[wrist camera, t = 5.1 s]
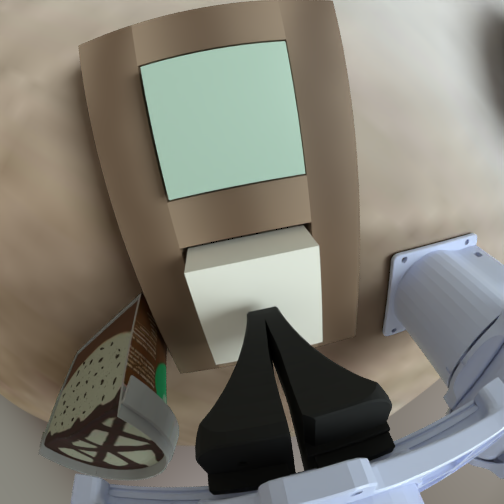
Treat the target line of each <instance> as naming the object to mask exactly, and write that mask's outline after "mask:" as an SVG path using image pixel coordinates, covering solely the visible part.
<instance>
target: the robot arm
mask: <svg viewBox="0 0 504 504" xmlns="http://www.w3.org/2000/svg"><path fill="white" fill-rule="evenodd" d="M476 242H477V235H476V234H474V233H471V234H467V235H464V236H460V237H457V238H453V239H449V240H446V241H442V242H438V243H435V244H431V245H427V246H423V247H419V248H416V249H412V250H408V251H404V252H400V253H397V254H395V255H394V256H393V257H392V259H391V268H390V279H389V288H388V297H387V305H386V312H385V319H384V325H383V334H384V335H385V336H390V335H393V334H396V333H398V332H401V331H404V330H407V332H408V333H409V334H410V336H411V337H412V338H413V340H414V341H415V342H416V344H417V345H418V346H419V348H420V349H421V350H422V352H423V353H424V355H425V356H426V357H427V359H428V360H429V362H430V363H431V364H432V366H433V367H434V369H435V370H436V371H437V373H438V374H439V376H440V377H441V379H442V380H443V381H444V383H445V384H446V386H447V387H448V388H449V389H448V391H447V393H446V394H445V395H444V397H443V398H444V400H445V401H446V403H447V404H448V406H449V409H448V411H447V413H446V416H445V417H443V418H441V419H439V420H437V421H436V422H434V423H432V424H430V425H428V426H426V427H424V428H422V429H420V430H418V431H416V432H414V433H411V434H409V435H407V436H405V437H403V438H401V439H398V440H396V441H393V440H392V438H391V436H390V433H389V430H390V427H389V425H388V424H387V419H388V416H389V414H390V411H391V409H392V403H391V401H390V399H389V397H388V395H387V394H386V393H385V391H384V390H383V389H382V387H381V386H380V385H379V384H378V383H377V382H374V381H371V380H369V379H366V378H363V377H361V376H359V375H356V374H354V373H352V372H350V371H348V370H347V369H345V368H343V367H341V366H340V365H338V364H336V363H334V362H333V361H331V360H330V359H328V358H327V357H325V356H324V355H323V354H321V353H320V352H319V351H317V350H316V349H315V348H314V347H312V346H311V345H310V344H309V343H308V342H307V341H306V340H305V339H304V338H303V337H301V336H300V335H299V333H298V332H297V331H296V330H295V329H294V328H293V327H292V326H291V325H290V324H289V322H288V321H287V320H286V319H285V318H284V316H283V315H282V313H281V312H280V310H279V309H278V308H277V307H276V306H274V307H270V308H265V309H260V310H255V311H251V312H248V313H247V325H246V331H245V336H244V341H243V345H242V348H241V352H240V355H239V358H238V361H237V364H236V366H235V369H234V371H233V373H232V375H231V378H230V380H229V381H228V383H227V385H226V387H225V389H224V391H223V393H222V394H221V396H220V397H219V399H218V400H217V402H216V403H215V405H214V406H213V408H212V409H211V411H210V412H209V413H208V414H207V416H206V417H205V418H204V419H203V420H202V422H201V423H200V424H199V428H198V432H197V437H196V445H195V450H196V461H197V463H198V464H199V465H200V466H201V467H202V468H203V469H204V470H205V471H206V472H207V473H208V484H209V486H201V487H141V486H140V487H139V486H126V485H116V484H109V483H108V482H107V481H105V480H104V479H102V478H99V477H96V476H90V475H83V474H75V478H74V484H73V491H72V498H71V504H424V502H423V499H422V497H421V495H420V492H421V491H423V490H425V489H427V488H429V487H430V486H432V485H434V484H436V483H437V482H439V481H441V480H442V479H444V478H446V477H447V476H449V475H450V474H452V473H453V472H455V471H456V470H458V469H459V468H461V467H462V466H464V465H465V464H467V463H469V464H471V465H473V466H477V467H482V468H486V469H488V470H490V471H492V472H493V473H495V474H496V475H497V476H498V477H499V478H501V479H504V265H503V264H502V263H500V262H499V261H498V260H496V259H495V258H493V257H492V256H491V255H489V254H488V253H487V252H485V251H484V250H482V249H481V248H479V247H478V246H477V245H476ZM403 258H404V259H403ZM402 259H403V260H402ZM272 360H273V361H272ZM273 363H274V366H275V369H276V371H277V374H278V377H279V380H280V382H281V385H282V388H283V391H284V393H285V396H286V399H287V402H288V406H289V410H290V414H291V418H292V422H293V426H294V430H295V434H296V438H297V442H298V446H299V450H300V454H301V458H302V463H303V467H304V471H303V472H298V473H296V472H295V465H294V457H293V450H292V443H291V437H290V432H289V428H288V424H287V420H286V417H285V413H284V410H283V406H282V403H281V399H280V395H279V392H278V388H277V384H276V381H275V377H274V369H273Z"/></svg>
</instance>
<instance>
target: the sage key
mask: <svg viewBox="0 0 504 504" xmlns="http://www.w3.org/2000/svg"><path fill="white" fill-rule="evenodd" d="M140 68H141V74H142V79H143V85H144V90H145V96H146V101H147V106H148V111H149V116H150V121H151V126H152V130H153V135H154V140H155V144H156V149H157V153H158V157H159V162H160V166H161V170H162V174H163V178H164V182H165V186H166V190H167V194H168V198H169V200H173V199H177V198H181V197H186V196H190V195H194V194H199V193H204V192H208V191H213V190H218V189H223V188H228V187H233V186H238V185H243V184H248V183H254V182H259V181H265V180H270V179H276V178H282V177H288V176H294V175H300V174H305V166H304V157H303V149H302V142H301V134H300V127H299V120H298V113H297V106H296V100H295V93H294V87H293V81H292V75H291V70H290V64H289V58H288V53H287V48H286V42H285V41H280V42H267V43H256V44H247V45H239V46H232V47H226V48H219V49H213V50H208V51H203V52H198V53H193V54H188V55H184V56H179V57H175V58H171V59H167V60H163V61H159V62H156V63H152V64H149V65H145V66H142V67H140Z"/></svg>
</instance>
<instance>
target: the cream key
mask: <svg viewBox="0 0 504 504" xmlns="http://www.w3.org/2000/svg"><path fill="white" fill-rule="evenodd" d="M184 274H185V277H186V280H187V284H188V287H189V290H190V293H191V296H192V299H193V302H194V305H195V308H196V311H197V314H198V317H199V319H200V322H201V325H202V328H203V331H204V334H205V336H206V339H207V342H208V345H209V347H210V350H211V353H212V355H213V358H214V361H215V363H216V365H218V364H224V363H229V362H235V361H238V358H239V355H240V352H241V348H242V345H243V341H244V336H245V331H246V325H247V313H248V312H251V311H255V310H260V309H265V308H270V307H274V306H276V307H277V308H278V309H279V310H280V312H281V313H282V315H283V316H284V318H285V319H286V320H287V321H288V322H289V324H290V325H291V326H292V327H293V328H294V329H295V330H296V331H297V332H298V333H299V335H300V336H301V337H303V338H304V339H305V340H306V341H307V342H308V343H309V344H310V345H313V344H317V343H320V342H323V334H322V293H321V270H320V252H319V245H318V243H317V242H316V241H315V240H314V238H313V237H312V236H311V234H310V233H309V232H308V230H307V229H306V228H305V227H304V225H301V226H296V227H291V228H286V229H281V230H276V231H271V232H266V233H261V234H256V235H251V236H246V237H241V238H236V239H231V240H226V241H221V242H216V243H211V244H207V245H202V246H197V247H192V248H188V251H187V258H186V264H185V271H184Z"/></svg>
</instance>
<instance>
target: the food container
mask: <svg viewBox="0 0 504 504" xmlns="http://www.w3.org/2000/svg"><path fill="white" fill-rule="evenodd" d="M166 347H167V345H166V343H165V341H164V339H163V337H162V335H161V332H160V330H159V328H158V326H157V324H156V321H155V319H154V317H153V315H152V312H151V310H150V308H149V305H148V303H147V300H146V298H145V296H144V295H143V294H142V293H141V294H140V295H138V296H137V297H136V298H135V299H134V300H133V301H132V302H131V303H130V304H128V305H127V306H126V307H125V308H124V309H123V310H122V311H121V312H120V313H118V314H117V315H116V316H115V317H114V318H113V319H112V320H111V321H110V322H109V323H107V324H106V325H105V326H104V327H103V328H102V329H101V330H100V331H99V332H98V333H97V334H96V335H95V336H93V337H92V338H91V339H90V340H89V341H88V342H87V343H86V344H85V345H84V346H83V347H82V348H81V349H80V350H79V351H77V353H76V355H75V357H74V360H73V362H72V364H71V367H70V369H69V371H68V373H67V376H66V378H65V381H64V383H63V386H62V388H61V390H60V393H59V396H58V398H57V401H56V403H55V406H54V409H53V411H52V414H51V417H50V420H49V422H48V425H47V428H46V431H45V432H43V435H42V438H41V443H40V450H39V454H40V455H42V456H43V457H45V458H47V459H49V460H51V461H53V462H55V463H57V464H59V465H62V466H64V467H67V468H69V469H72V470H75V471H78V472H81V473H84V474H88V475H92V476H96V477H101V478H107V479H114V480H142V479H148V478H151V477H155V476H157V475H159V474H161V473H162V472H163V471H164V470H165V469H166V467H167V464H168V463H169V462H170V461H171V459H172V457H173V454H174V450H175V447H176V443H177V440H178V436H179V425H178V422H177V419H176V417H175V415H174V414H173V412H172V411H171V409H170V408H169V406H168V405H167V399H166Z"/></svg>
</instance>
